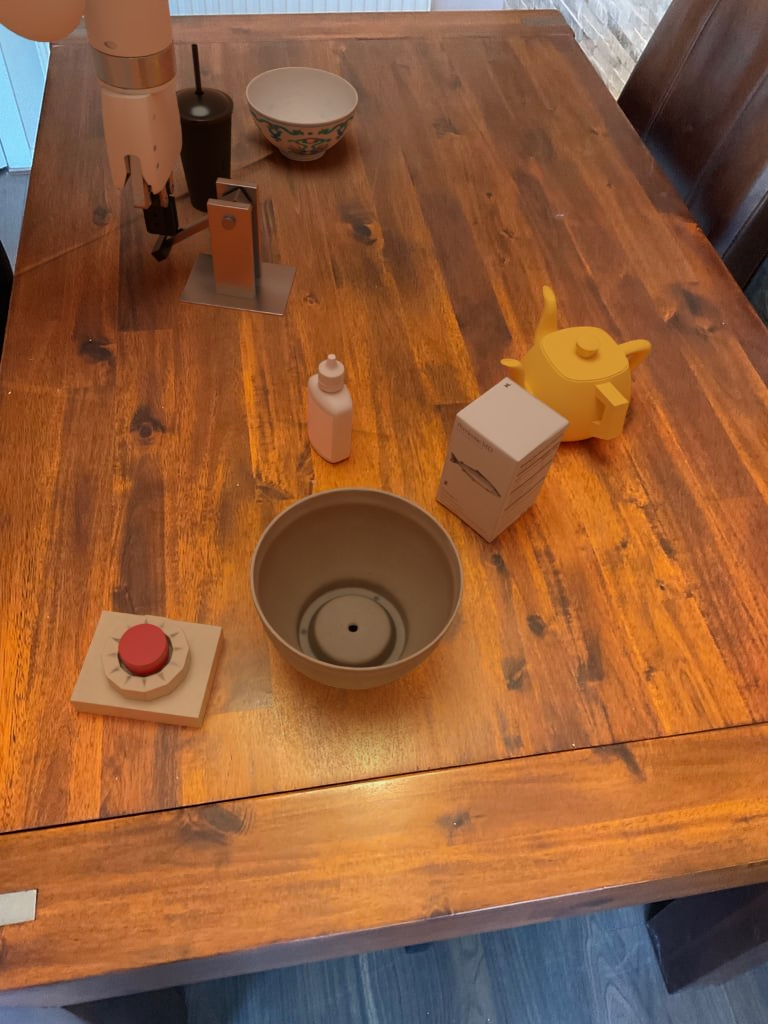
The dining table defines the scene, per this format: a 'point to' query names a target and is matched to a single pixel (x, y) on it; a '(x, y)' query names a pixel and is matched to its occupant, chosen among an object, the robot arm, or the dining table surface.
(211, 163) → the drinking cup
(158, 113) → the robot arm
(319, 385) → the eye dropper bottle
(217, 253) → the lever stand
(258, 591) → the planter bowl
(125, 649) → the button
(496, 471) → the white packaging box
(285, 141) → the chinaware
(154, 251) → the lever
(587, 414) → the teapot
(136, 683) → the button block
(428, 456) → the dining table surface
